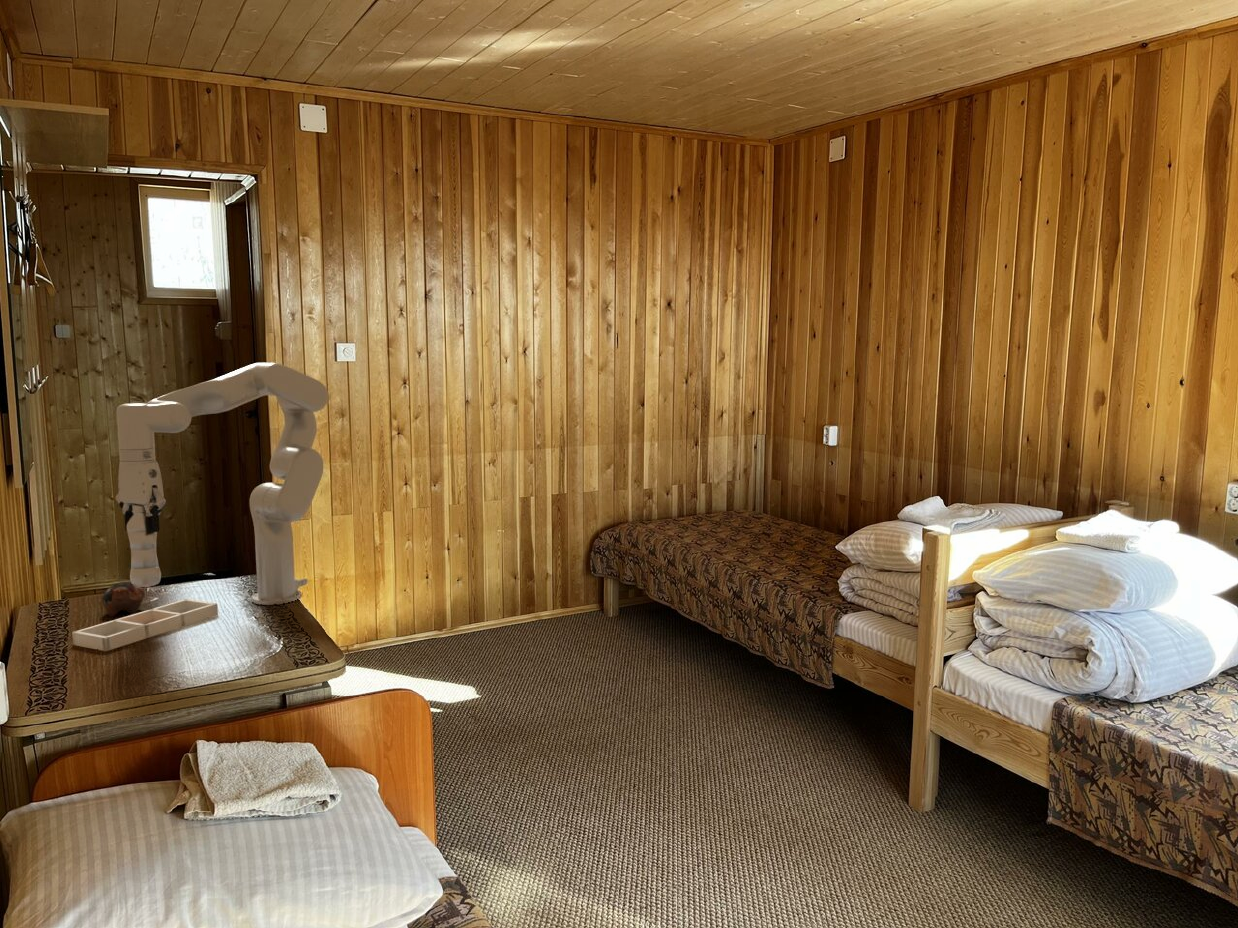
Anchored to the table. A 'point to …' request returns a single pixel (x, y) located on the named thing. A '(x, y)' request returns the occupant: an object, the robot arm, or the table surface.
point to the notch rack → (144, 624)
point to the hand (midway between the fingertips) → (142, 530)
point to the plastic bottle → (142, 550)
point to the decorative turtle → (122, 598)
